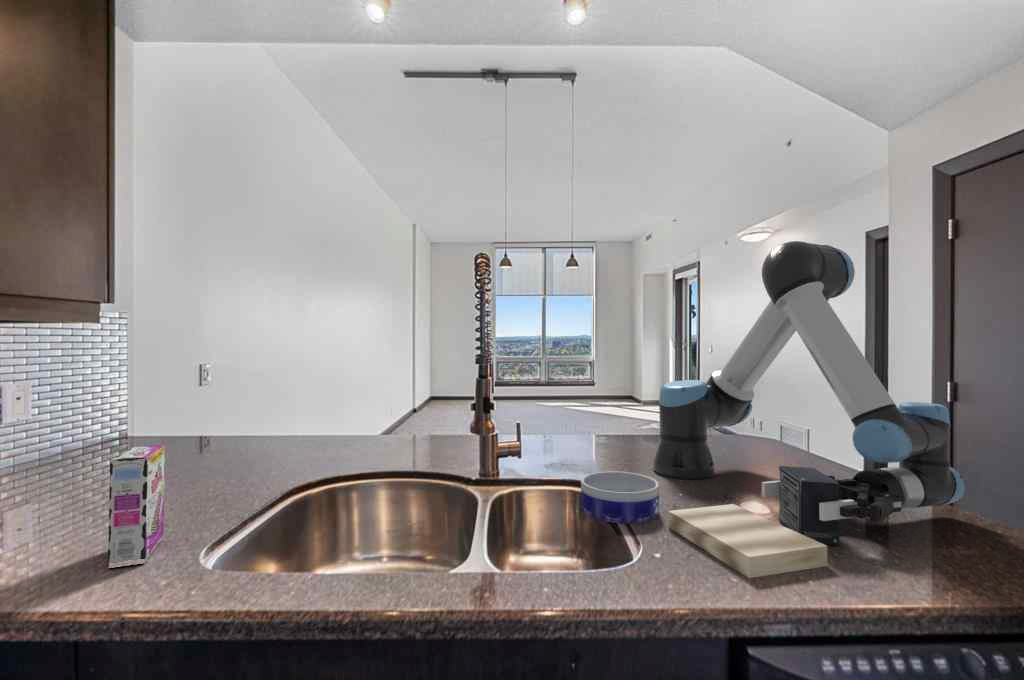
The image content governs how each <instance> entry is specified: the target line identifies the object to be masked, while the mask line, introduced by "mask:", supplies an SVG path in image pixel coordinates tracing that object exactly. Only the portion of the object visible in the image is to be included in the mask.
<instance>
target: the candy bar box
mask: <svg viewBox="0 0 1024 680" xmlns="http://www.w3.org/2000/svg"><path fill="white" fill-rule="evenodd" d="M165 460H166V445H145V446H135V447H134V446H132V448H130V449H128V450H126V451H125V452H122V453H121V454H119V455H117V456H116V457H114V458H112V459H110V460H109V493H108V494H109V495H108V496H109V498H108V503H109V504H108V539H107V540H108V542H107V544H108V546H107V547H108V548H107V549H108V550H107V564H108V563H118V562H124V561H128V560H137V559H145V558H146V557H147V556H148V554H149V553H150V552H151V551H152V549H153V548H154V546H155V545H156V544H157V542H158V541H159V539H160V538H161V537H162V535H163V536H164V521H165V517H164V516H165V515H164V514H165V513H164V512H165V474H166V473H165V472H166V471H165V468H166V463H165V462H166V461H165Z"/></svg>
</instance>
